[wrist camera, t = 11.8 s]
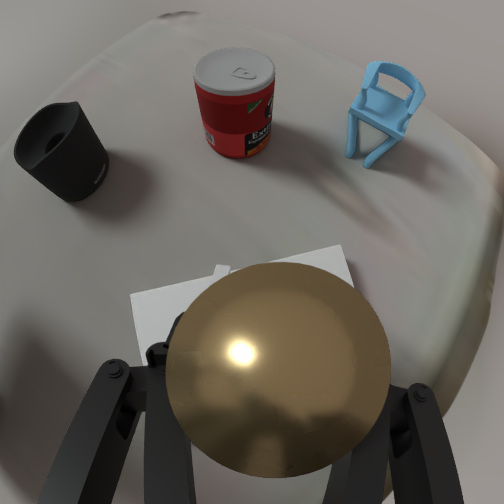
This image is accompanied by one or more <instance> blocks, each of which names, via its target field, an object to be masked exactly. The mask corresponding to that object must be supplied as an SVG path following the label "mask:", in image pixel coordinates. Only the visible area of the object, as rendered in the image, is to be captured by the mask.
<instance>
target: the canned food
mask: <svg viewBox="0 0 504 504" xmlns="http://www.w3.org/2000/svg"><path fill="white" fill-rule="evenodd" d="M193 73H194V76H193V77H194V82H195V88H196V93H197V98H198V102H199V107H200V112H201V117H202V121H203V126H204V131H205V135H206V139H207V141H208V143H209V144H210V146H211V147H212V148H213V149H214V150H215V151H216V152H217V153H219V154H221V155H223V156H225V157H229V158H236V159H238V158H247V157H251V156H253V155H256V154H257V153H259V152H260V151H261V150H262V149H264V147H265V146H266V144H267V143H268V141H269V138H270V132H271V121H272V109H273V97H274V85H275V67H274V63H273V62H272V60H271V59H270V58H269V57H268V56H266V55H264V54H263V53H261V52H258V51H255V50H252V49H247V48H224V49H219V50H216V51H213V52H210V53H208V54H206V55H205V56H203V57H202V58H200V59H199V60H198V61H197V63H196V64H195V66H194V70H193Z"/></svg>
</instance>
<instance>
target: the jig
mask: <svg viewBox="0 0 504 504" xmlns="http://www.w3.org/2000/svg"><path fill="white" fill-rule="evenodd" d="M270 262H293V263H301V264H306V265H311V266H314V267H317V268H320V269H323V270H326V271H328V272H330V273H332V274H334V275H336V276H338V277H339V278H341V279H342V280H344V281H346V282H347V283H349V284H350V285H351V286H352V287H353V288H354V285H353V282H352V279H351V276H350V272H349V269H348V266H347V263H346V260H345V257H344V254H343V251H342V248H341V245H340V244H339V245H335V246H331V247H327V248H323V249H319V250H315V251H311V252H307V253H303V254H299V255H295V256H291V257H287V258H283V259H279V260H275V261H270ZM266 263H269V262H266ZM241 269H243V268H241ZM237 270H240V269H237ZM237 270H233V271H230V274H231V273H233V272H235V271H237ZM212 276H213V275H212ZM212 276H208V277H204V278H199V279H195V280H191V281H186V282H182V283H178V284H173V285H169V286H165V287H160V288H156V289H152V290H147V291H143V292H138V293H134V294H130V297H131V304H132V310H133V316H134V322H135V327H136V333H137V338H138V343H139V348H140V353H141V357H142V362H143V366H147V365H148V362H147V359H146V355H145V354H146V351H147V349H148V348H149V347H150V346H151V345H153V344H155V343H158V342H166V339H167V337H168V335H169V334H170V330H171V328H172V325H173V323H174V321H175V319H176V317H177V316H179V315H180V314H181V313H182V312H185V311H186V310H187V309H188V307H189V306H190V304H191V303H192V302H193V301H194V300H195V299H196V298H197V297H198V296H199V295H200V294H201V293H202V292H203V291H204V290H206V289H207V288H208V287H209V284H210V281H211V279H212Z"/></svg>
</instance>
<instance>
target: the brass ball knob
mask: <svg viewBox="0 0 504 504" xmlns="http://www.w3.org/2000/svg"><path fill="white" fill-rule="evenodd" d="M390 376H391V358H390V350H389V345H388V340H387V337H386V334H385V331H384V328H383V326H382V324H381V322H380V320H379V318H378V316H377V314H376V313H375V311H374V310H373V308H372V307H371V305H370V304H369V303H368V302H367V300H366V299H365V298H364V297H363V296H362V295H361V294H360V293H359V292H358V291H357V290H356V289H355V288H353V287H352V286H351V285H350V284H349V283H347V282H346V281H344V280H342V279H341V278H339V277H338V276H336V275H334V274H332V273H330V272H328V271H326V270H323V269H320V268H317V267H314V266H311V265H306V264H301V263H293V262H269V263H262V264H257V265H252V266H249V267H246V268H243V269H240V270H237V271H235V272H233V273H231V274H228V275H226V276H224V277H223V278H221V279H220V280H218V281H216V282H215V283H213V284H212V285H210V286H209V287H208V288H207V289H206V290H204V291H203V292H202V293H201V294H200V295H199V296H198V297H197V298H196V299H195V300H194V301H193V302H192V303H191V304H190V306H189V307H188V309H187V310H186V311H185V313H184V314H183V315H182V317H181V319H180V321H179V323H178V325H177V326H176V328H175V331H174V333H173V336H172V339H171V341H170V345H169V349H168V353H167V359H166V387H167V392H168V397H169V401H170V404H171V407H172V410H173V412H174V415H175V417H176V419H177V421H178V423H179V424H180V426H181V428H182V429H183V431H184V432H185V433H186V435H187V436H188V438H189V439H190V440H191V441H192V442H193V443H194V444H195V445H196V446H197V447H198V448H199V449H200V450H201V451H202V452H203V453H205V454H206V455H207V456H208V457H210V458H211V459H213V460H214V461H216V462H218V463H219V464H221V465H223V466H225V467H227V468H229V469H232V470H234V471H237V472H240V473H243V474H247V475H250V476H257V477H263V478H287V477H295V476H300V475H304V474H308V473H311V472H314V471H317V470H320V469H322V468H324V467H326V466H328V465H330V464H332V463H334V462H336V461H337V460H339V459H340V458H342V457H343V456H345V455H346V454H348V453H349V452H350V451H351V450H352V449H353V448H355V447H356V446H357V445H358V444H359V443H360V442H361V441H362V440H363V438H364V437H365V436H366V435H367V434H368V433H369V431H370V430H371V428H372V427H373V425H374V424H375V422H376V421H377V419H378V417H379V415H380V413H381V411H382V409H383V406H384V403H385V400H386V397H387V394H388V389H389V384H390Z"/></svg>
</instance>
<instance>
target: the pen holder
mask: <svg viewBox="0 0 504 504" xmlns="http://www.w3.org/2000/svg"><path fill="white" fill-rule="evenodd" d="M14 158H15V160H16V162H17V163H18V164H19V165H20V166H21V167H22V168H23V169H24V170H26V171H27V172H28V173H29V174H30V175H32V176H33V177H34V178H35V179H36V180H38V181H39V182H40V183H41V184H43V185H44V186H45V187H46V188H48V189H49V190H50V191H51V192H53V193H54V194H56V195H57V196H58V197H60V198H61V199H63V200H65V201H70V202H71V201H78V200H81V199H83V198H85V197H87V196H88V195H90V194H91V193H92V192H94V191H95V190H96V189H97V188H98V186H99V185H100V184H101V182H102V181H103V179H104V177H105V175H106V172H107V169H108V162H109V160H108V155H107V153H106V151H105V149H104V147H103V145H102V144H101V142H100V140H99V138H98V137H97V135H96V133H95V131H94V130H93V128H92V126H91V124H90V123H89V121H88V119H87V117H86V116H85V114H84V112H83V110H82V109H81V107H80V105H79V103H78V102H76V101H75V102H70V103H54V104H50V105H47V106H45V107H44V108H42V109H41V110H39V111H38V112H37V113H36V114H35V115H34V116H33V117H32V118H31V119H30V120H29V121H28V122H27V124H26V125H25V126H24V128H23V129H22V131H21V132H20V134H19V136H18V138H17V141H16V144H15V147H14Z"/></svg>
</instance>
